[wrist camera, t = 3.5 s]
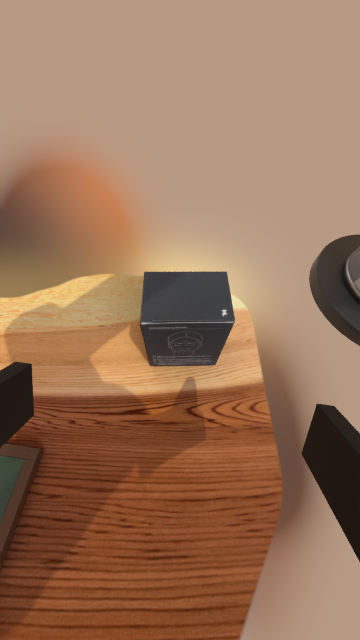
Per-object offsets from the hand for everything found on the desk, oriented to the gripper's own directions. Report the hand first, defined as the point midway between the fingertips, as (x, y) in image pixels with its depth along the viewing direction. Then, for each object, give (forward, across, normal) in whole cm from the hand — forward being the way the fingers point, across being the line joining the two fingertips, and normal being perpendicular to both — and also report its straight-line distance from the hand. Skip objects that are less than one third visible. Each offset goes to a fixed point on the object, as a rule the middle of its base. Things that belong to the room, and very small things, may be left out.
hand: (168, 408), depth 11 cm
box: (+18, 0, -4) cm, 19 cm away
